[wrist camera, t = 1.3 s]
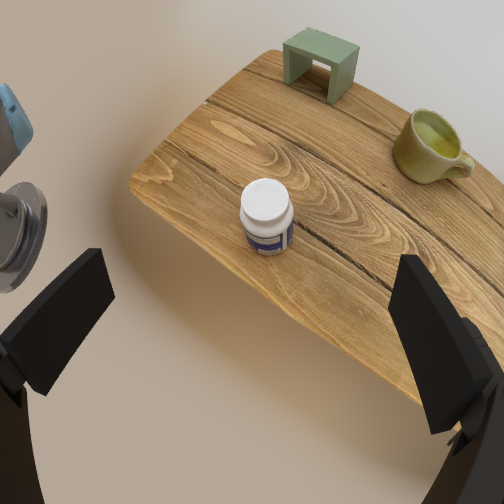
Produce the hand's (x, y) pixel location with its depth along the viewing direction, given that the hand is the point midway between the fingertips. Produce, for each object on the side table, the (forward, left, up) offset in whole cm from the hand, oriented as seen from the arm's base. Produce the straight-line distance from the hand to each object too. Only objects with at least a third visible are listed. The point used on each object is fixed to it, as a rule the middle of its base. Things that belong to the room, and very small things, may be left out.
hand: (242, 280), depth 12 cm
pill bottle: (-3, +10, -23) cm, 26 cm away
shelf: (-4, +41, -23) cm, 48 cm away
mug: (+17, +29, -23) cm, 41 cm away
